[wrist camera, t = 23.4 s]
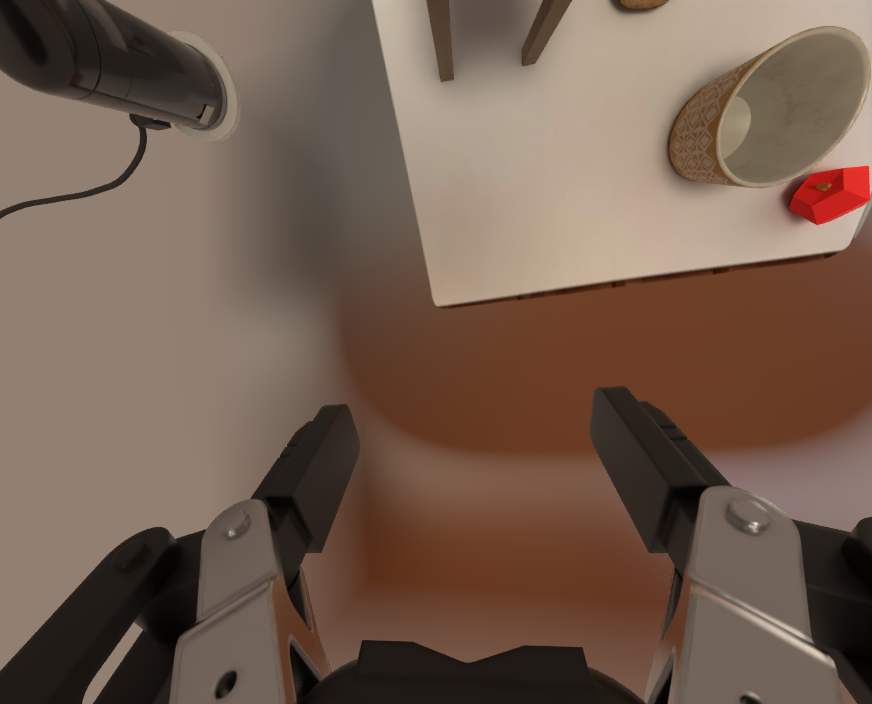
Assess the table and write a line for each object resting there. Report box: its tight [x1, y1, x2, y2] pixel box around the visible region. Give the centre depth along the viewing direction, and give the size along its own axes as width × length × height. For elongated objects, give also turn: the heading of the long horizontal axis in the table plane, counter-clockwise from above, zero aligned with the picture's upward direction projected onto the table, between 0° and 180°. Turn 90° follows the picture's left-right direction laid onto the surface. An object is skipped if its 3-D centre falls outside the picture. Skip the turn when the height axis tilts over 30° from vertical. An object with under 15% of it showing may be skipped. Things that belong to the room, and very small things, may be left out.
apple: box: [789, 166, 870, 225], centre depth 39 cm, size 7×7×8 cm
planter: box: [670, 26, 871, 188], centre depth 35 cm, size 13×13×10 cm
